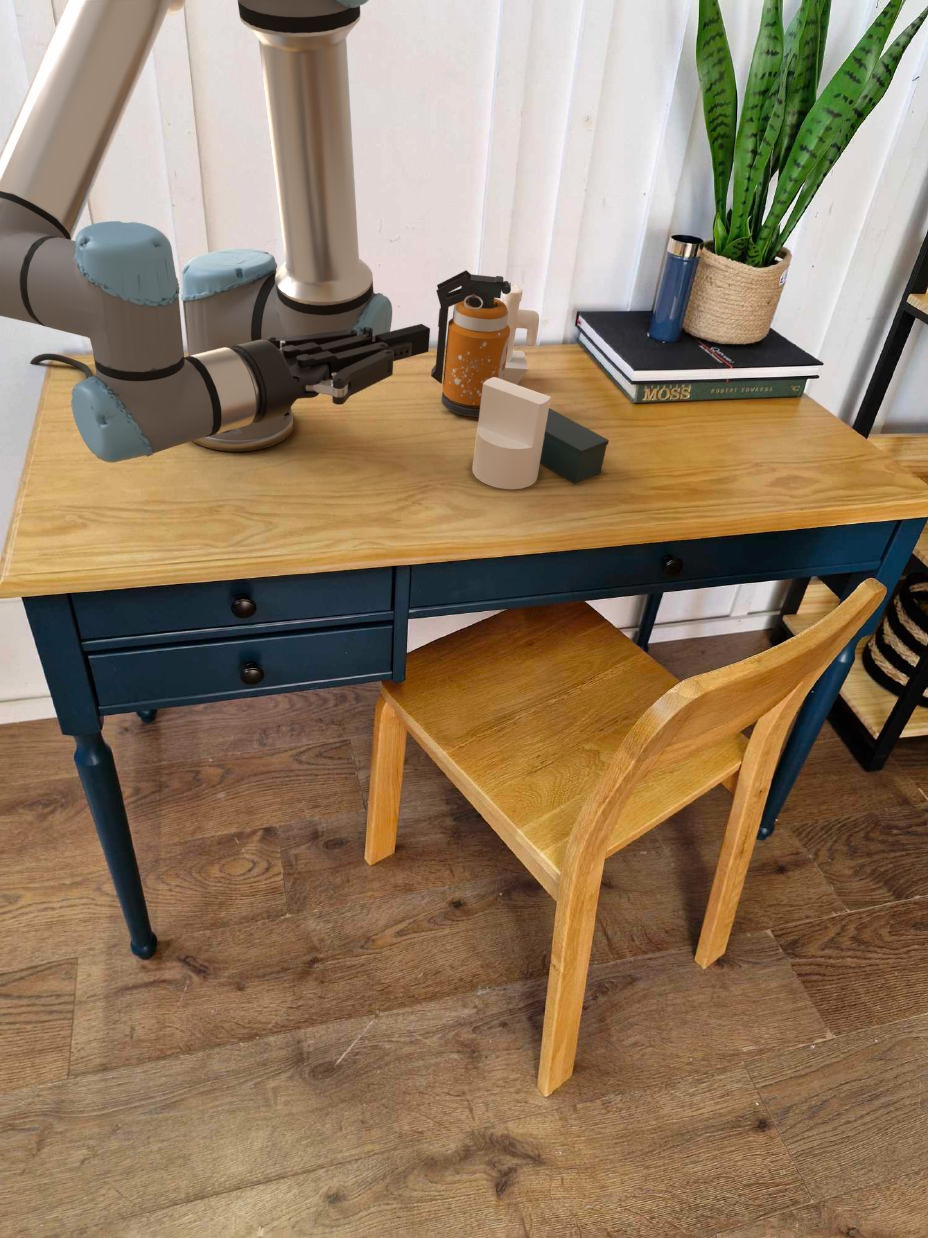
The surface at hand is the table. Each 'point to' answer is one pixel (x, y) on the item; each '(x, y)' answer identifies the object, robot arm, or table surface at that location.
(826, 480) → the table surface
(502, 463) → the cylinder with rectangular tab
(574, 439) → the pencil box
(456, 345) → the canister
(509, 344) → the figurine
